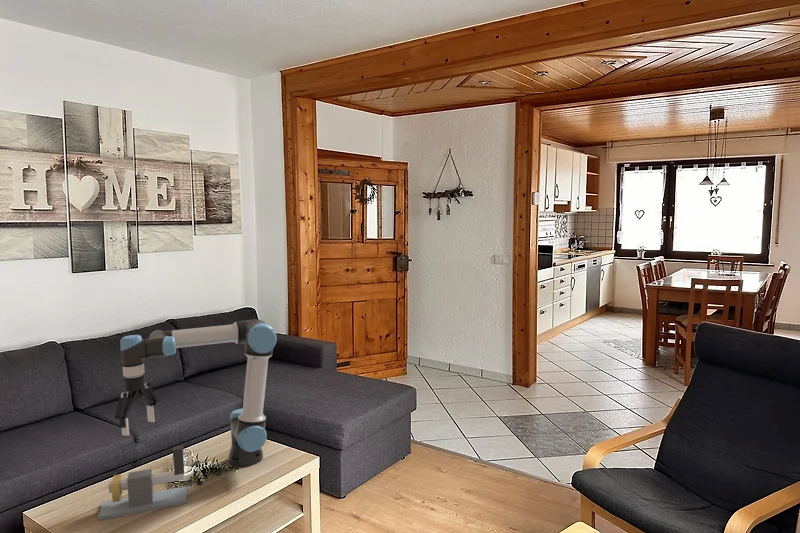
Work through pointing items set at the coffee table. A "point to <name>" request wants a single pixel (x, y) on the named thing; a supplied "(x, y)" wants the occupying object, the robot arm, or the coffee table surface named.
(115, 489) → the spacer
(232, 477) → the coffee table surface
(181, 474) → the shaft
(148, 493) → the bracket
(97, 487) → the coffee table surface
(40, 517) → the coffee table surface
